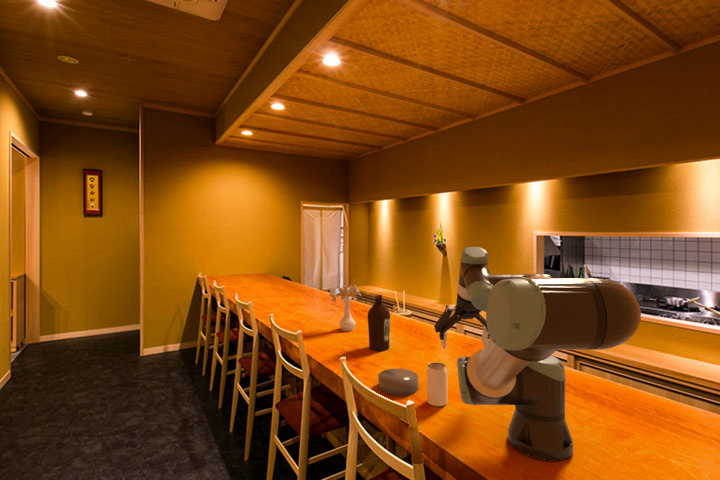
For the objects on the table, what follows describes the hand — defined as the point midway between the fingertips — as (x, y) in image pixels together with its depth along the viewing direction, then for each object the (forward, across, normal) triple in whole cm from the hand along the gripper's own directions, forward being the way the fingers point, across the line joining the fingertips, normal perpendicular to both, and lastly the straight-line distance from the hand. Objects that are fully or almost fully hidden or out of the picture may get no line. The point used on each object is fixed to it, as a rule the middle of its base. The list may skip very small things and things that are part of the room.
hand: (463, 344), depth 125 cm
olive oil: (+37, +26, -37) cm, 58 cm away
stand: (+17, +22, +2) cm, 28 cm away
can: (+12, +11, +12) cm, 21 cm away
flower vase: (+51, +42, -65) cm, 93 cm away
